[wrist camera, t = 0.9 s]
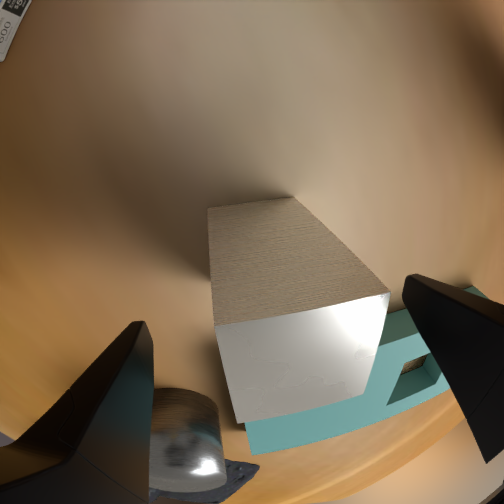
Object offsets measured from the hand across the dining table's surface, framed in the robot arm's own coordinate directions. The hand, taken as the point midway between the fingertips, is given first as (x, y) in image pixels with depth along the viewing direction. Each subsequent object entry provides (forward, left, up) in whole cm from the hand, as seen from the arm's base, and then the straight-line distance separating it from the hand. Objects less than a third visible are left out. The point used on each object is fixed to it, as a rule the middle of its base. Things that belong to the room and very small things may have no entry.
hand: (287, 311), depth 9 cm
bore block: (-8, +12, -6) cm, 15 cm away
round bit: (+7, +13, -6) cm, 16 cm away
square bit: (0, 0, -6) cm, 6 cm away
